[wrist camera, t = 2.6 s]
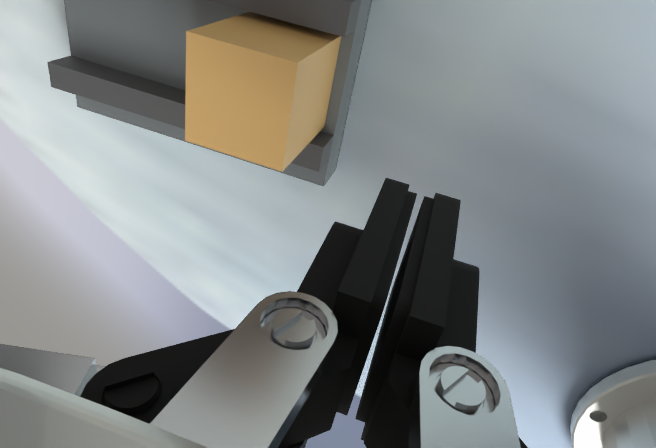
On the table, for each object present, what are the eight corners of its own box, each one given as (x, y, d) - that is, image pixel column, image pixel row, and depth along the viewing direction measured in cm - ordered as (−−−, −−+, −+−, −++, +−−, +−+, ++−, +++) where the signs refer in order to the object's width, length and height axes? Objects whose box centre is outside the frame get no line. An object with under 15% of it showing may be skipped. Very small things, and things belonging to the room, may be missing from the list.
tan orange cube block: (341, 35, 19) (297, 62, 15) (324, 126, 22) (282, 171, 17) (251, 11, 20) (186, 31, 16) (243, 102, 22) (185, 140, 18)
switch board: (381, -48, 19) (360, -44, 16) (335, 169, 25) (313, 200, 22) (83, -118, 21) (19, -126, 18) (103, 96, 27) (55, 115, 24)
